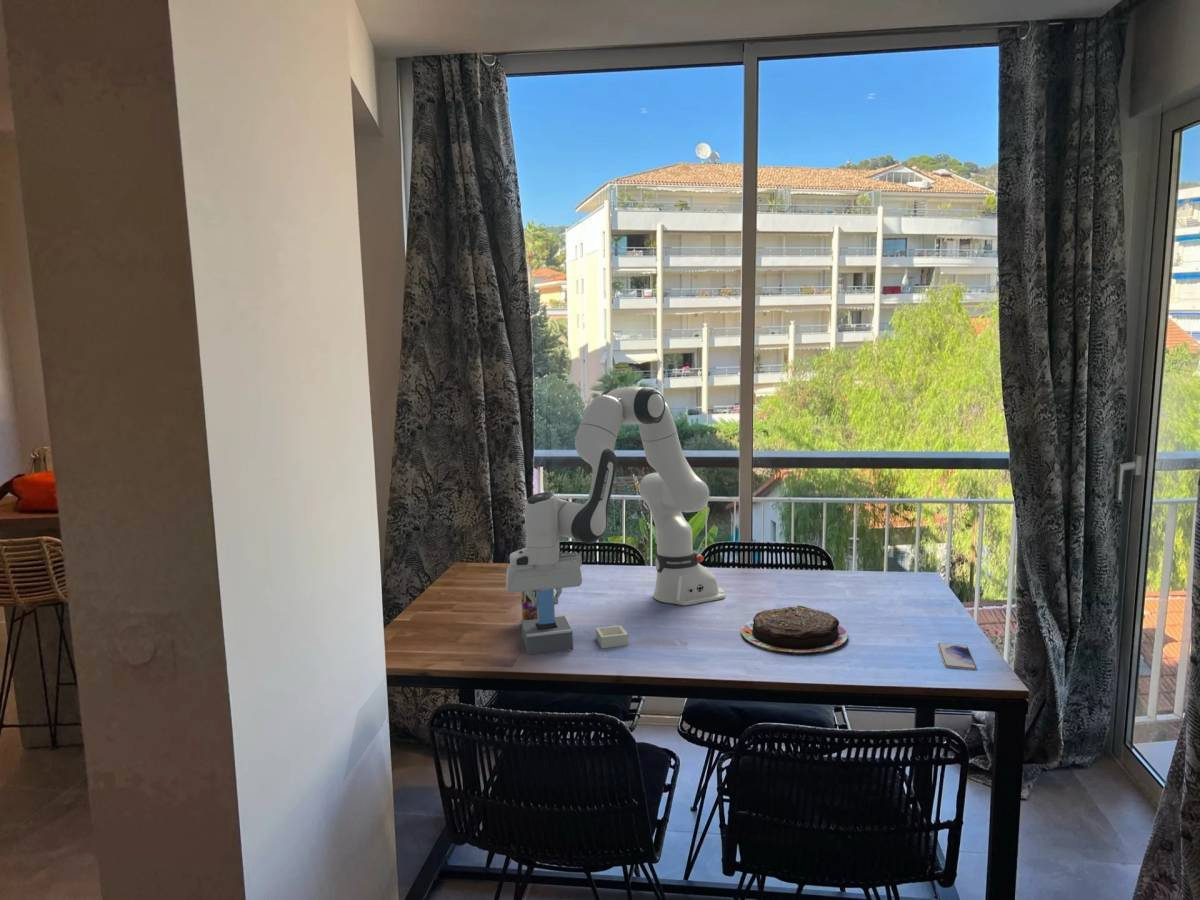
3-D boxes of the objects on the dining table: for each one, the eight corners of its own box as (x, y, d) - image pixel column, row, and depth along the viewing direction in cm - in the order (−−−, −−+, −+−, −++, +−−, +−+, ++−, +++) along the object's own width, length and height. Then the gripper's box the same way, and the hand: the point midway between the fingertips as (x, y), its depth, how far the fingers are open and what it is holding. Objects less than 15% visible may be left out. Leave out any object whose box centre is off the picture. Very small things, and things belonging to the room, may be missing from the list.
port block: (565, 633, 216) (564, 614, 216) (573, 649, 205) (572, 629, 204) (522, 638, 214) (521, 619, 213) (527, 654, 202) (526, 634, 201)
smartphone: (967, 645, 198) (977, 668, 183) (967, 648, 198) (977, 672, 183) (937, 642, 200) (944, 665, 185) (936, 645, 200) (944, 668, 185)
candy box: (521, 625, 224) (519, 573, 222) (527, 620, 228) (525, 569, 226) (550, 627, 222) (548, 575, 220) (555, 622, 226) (553, 571, 224)
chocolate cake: (719, 635, 212) (719, 611, 212) (787, 612, 229) (787, 590, 228) (801, 666, 190) (801, 640, 189) (870, 638, 206) (870, 614, 205)
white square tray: (621, 635, 213) (621, 625, 213) (628, 645, 206) (627, 634, 206) (596, 638, 212) (595, 627, 211) (601, 648, 205) (601, 637, 204)
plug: (552, 617, 211) (550, 582, 210) (554, 622, 207) (552, 586, 206) (537, 619, 210) (535, 583, 209) (539, 624, 206) (537, 587, 205)
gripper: (579, 548, 211) (581, 597, 213) (503, 554, 207) (506, 604, 209) (583, 554, 205) (585, 604, 207) (506, 560, 201) (508, 612, 203)
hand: (545, 604), depth 208 cm, fingers closed on plug, 4 cm apart
